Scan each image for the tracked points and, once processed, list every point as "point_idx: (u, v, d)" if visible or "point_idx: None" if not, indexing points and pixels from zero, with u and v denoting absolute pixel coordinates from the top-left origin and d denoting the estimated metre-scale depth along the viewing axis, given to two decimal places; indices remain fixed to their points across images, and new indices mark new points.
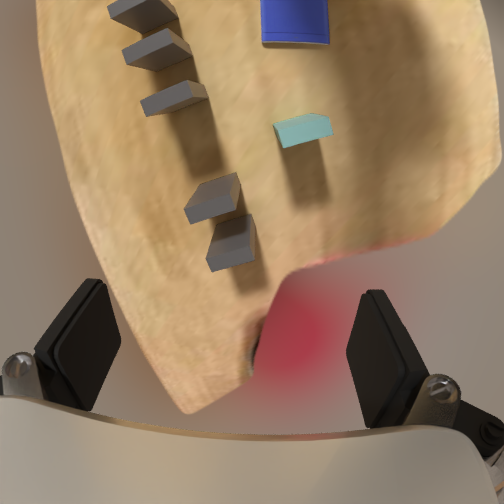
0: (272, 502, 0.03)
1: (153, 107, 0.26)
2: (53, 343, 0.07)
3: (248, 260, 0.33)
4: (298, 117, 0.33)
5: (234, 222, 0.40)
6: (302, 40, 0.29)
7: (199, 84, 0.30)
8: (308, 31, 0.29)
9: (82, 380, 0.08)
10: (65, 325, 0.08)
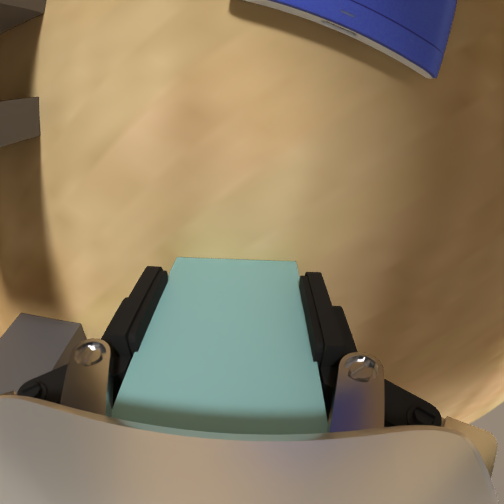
0: (272, 502, 0.03)
1: None
2: (129, 327, 0.08)
3: None
4: (249, 278, 0.11)
5: None
6: (364, 30, 0.08)
7: None
8: (393, 12, 0.07)
9: None
10: (136, 310, 0.09)
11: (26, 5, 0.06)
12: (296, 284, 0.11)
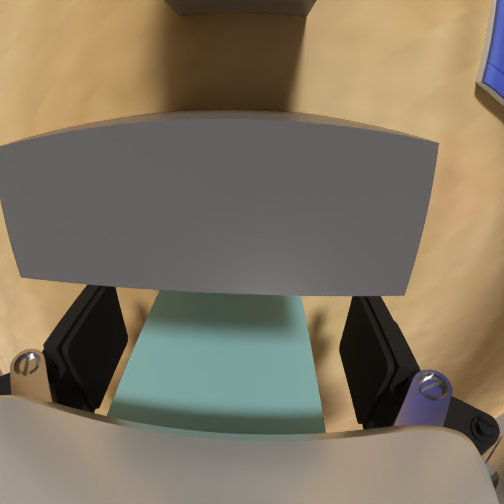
0: (272, 502, 0.03)
1: (65, 242, 0.03)
2: (62, 340, 0.07)
3: None
4: None
5: None
6: None
7: None
8: None
9: (91, 377, 0.08)
10: (74, 322, 0.08)
11: None
12: None
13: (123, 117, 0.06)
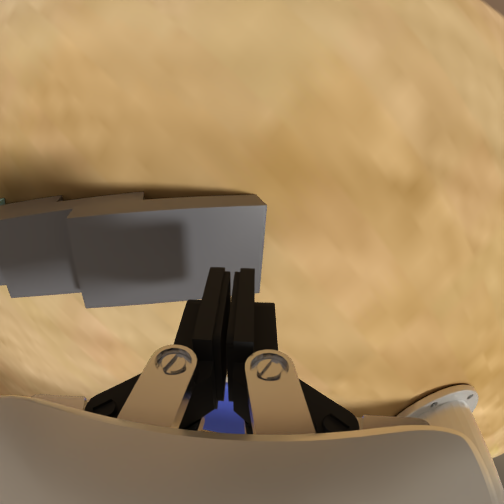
0: (272, 502, 0.03)
1: None
2: (212, 331, 0.08)
3: None
4: None
5: None
6: None
7: None
8: None
9: (223, 368, 0.09)
10: (213, 312, 0.09)
11: None
12: None
13: None
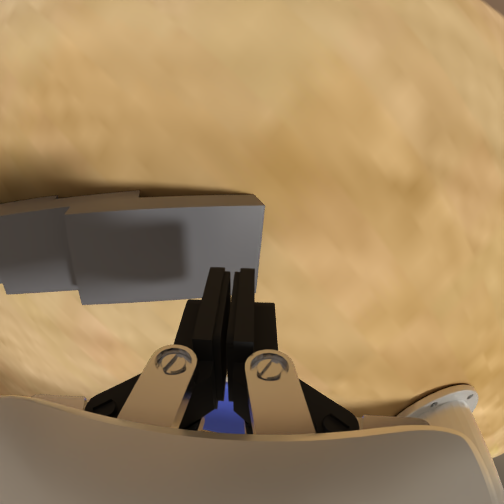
0: (272, 502, 0.03)
1: None
2: (212, 331, 0.08)
3: None
4: None
5: None
6: None
7: None
8: None
9: (223, 368, 0.09)
10: (213, 312, 0.09)
11: None
12: None
13: None
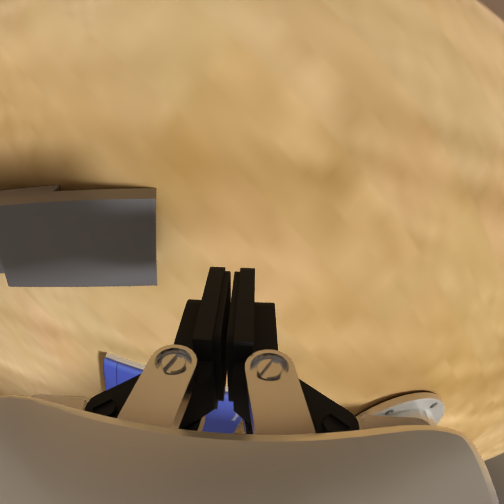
0: (272, 502, 0.03)
1: None
2: (212, 331, 0.08)
3: None
4: None
5: None
6: None
7: None
8: None
9: (223, 368, 0.09)
10: (213, 312, 0.09)
11: None
12: None
13: None
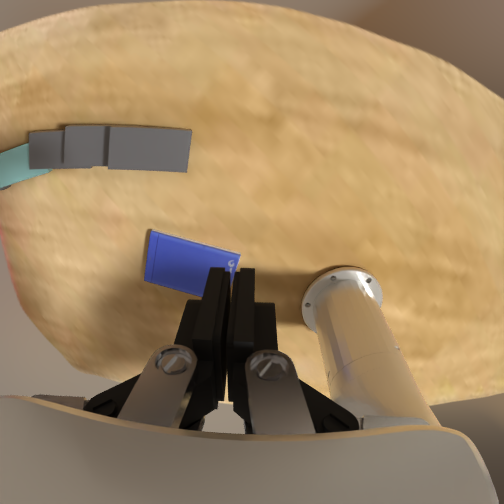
0: (272, 502, 0.03)
1: None
2: (212, 331, 0.08)
3: None
4: None
5: None
6: (147, 262, 0.41)
7: None
8: (155, 269, 0.42)
9: (223, 368, 0.09)
10: (213, 312, 0.09)
11: None
12: (37, 174, 0.34)
13: (53, 132, 0.30)
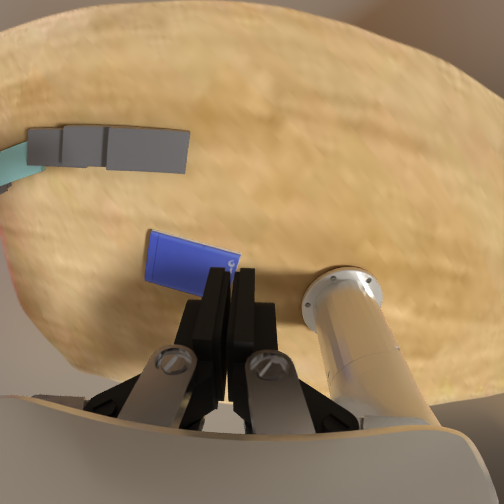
0: (272, 502, 0.03)
1: None
2: (212, 331, 0.08)
3: None
4: None
5: None
6: (147, 262, 0.41)
7: (64, 166, 0.33)
8: (155, 269, 0.42)
9: (223, 368, 0.09)
10: (213, 312, 0.09)
11: None
12: (31, 173, 0.34)
13: (51, 130, 0.30)
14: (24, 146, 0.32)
